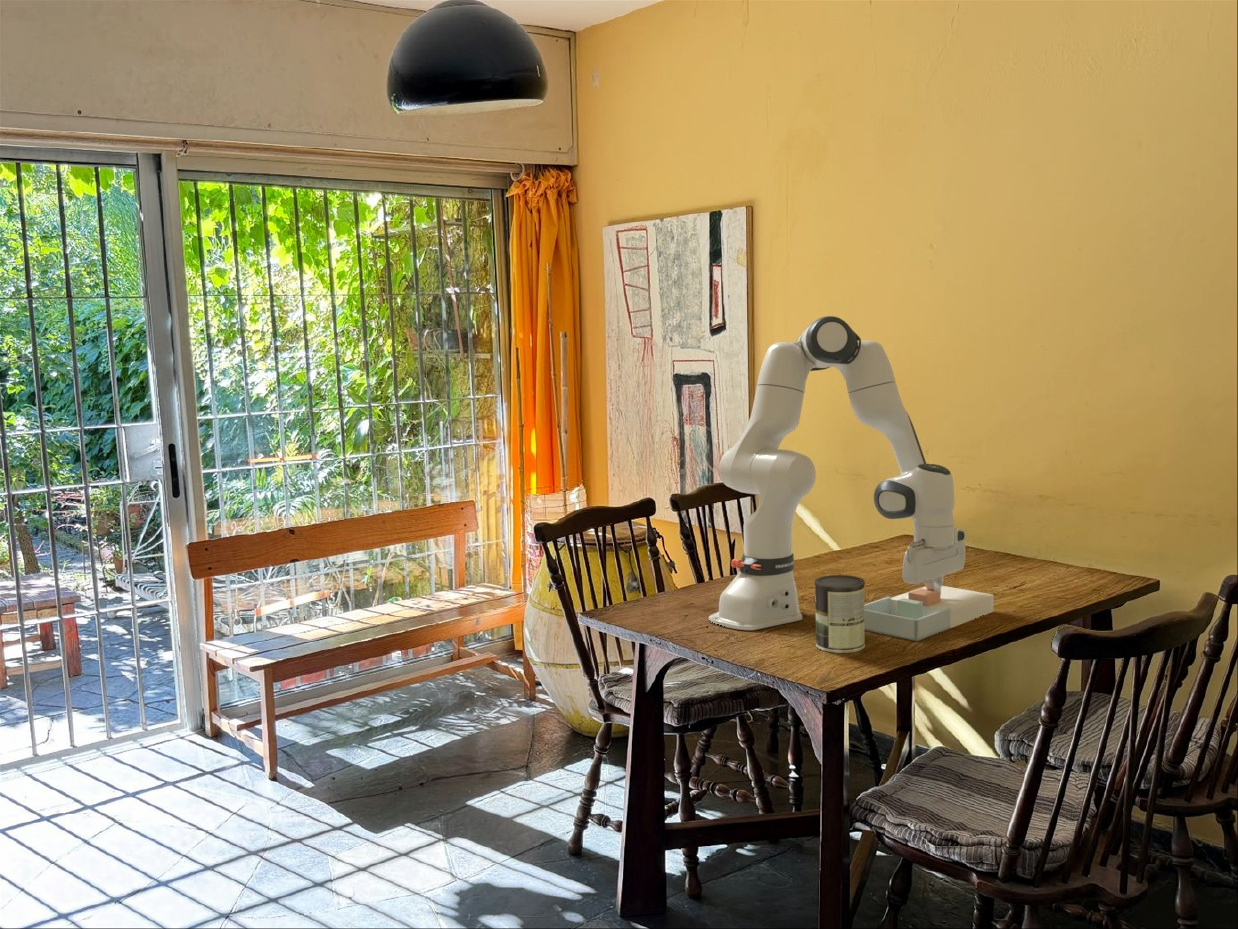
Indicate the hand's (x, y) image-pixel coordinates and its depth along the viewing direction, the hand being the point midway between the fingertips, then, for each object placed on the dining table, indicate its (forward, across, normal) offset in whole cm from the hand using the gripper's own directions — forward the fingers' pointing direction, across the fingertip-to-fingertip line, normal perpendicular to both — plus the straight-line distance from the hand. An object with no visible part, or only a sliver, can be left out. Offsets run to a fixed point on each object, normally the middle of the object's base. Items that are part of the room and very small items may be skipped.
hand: (933, 596), depth 257 cm
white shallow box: (+5, +3, 0) cm, 5 cm away
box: (+5, -13, 0) cm, 14 cm away
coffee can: (+5, -32, +2) cm, 33 cm away
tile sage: (+2, -8, 0) cm, 9 cm away
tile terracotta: (+1, -4, 0) cm, 4 cm away
